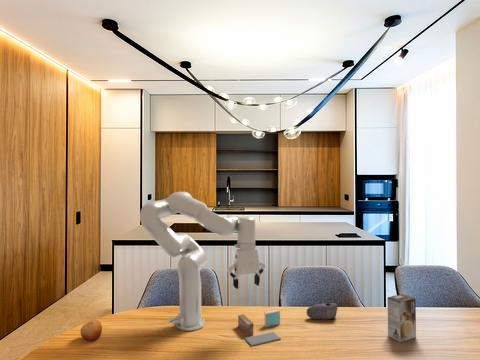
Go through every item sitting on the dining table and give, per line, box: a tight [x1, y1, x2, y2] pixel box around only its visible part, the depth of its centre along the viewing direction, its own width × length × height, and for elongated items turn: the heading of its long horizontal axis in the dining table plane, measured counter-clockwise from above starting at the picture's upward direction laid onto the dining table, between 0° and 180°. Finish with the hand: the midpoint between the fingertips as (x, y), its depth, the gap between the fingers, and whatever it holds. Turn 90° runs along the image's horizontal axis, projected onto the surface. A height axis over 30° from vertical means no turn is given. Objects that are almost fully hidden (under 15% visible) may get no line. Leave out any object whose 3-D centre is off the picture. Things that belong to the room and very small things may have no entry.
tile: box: [263, 309, 281, 328], centre depth 145 cm, size 7×2×6 cm, turn 114°
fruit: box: [80, 319, 103, 342], centre depth 133 cm, size 8×8×8 cm
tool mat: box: [244, 331, 281, 347], centre depth 132 cm, size 13×6×1 cm, turn 114°
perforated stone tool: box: [306, 302, 338, 320], centre depth 152 cm, size 15×5×7 cm, turn 90°
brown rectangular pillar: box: [237, 313, 254, 337], centre depth 140 cm, size 2×10×5 cm, turn 24°
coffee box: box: [387, 293, 417, 343], centre depth 134 cm, size 9×6×16 cm
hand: (246, 286), depth 140 cm, fingers open, 9 cm apart
